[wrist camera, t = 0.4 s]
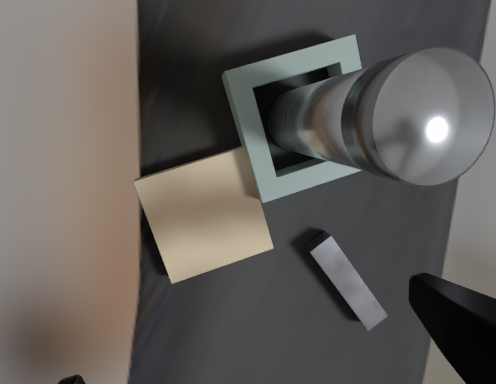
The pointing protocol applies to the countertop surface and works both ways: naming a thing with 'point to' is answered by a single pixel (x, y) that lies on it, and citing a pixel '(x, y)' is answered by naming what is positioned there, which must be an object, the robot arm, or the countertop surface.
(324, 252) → the bar
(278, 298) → the countertop surface
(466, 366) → the robot arm
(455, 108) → the grey round peg
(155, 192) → the beige square plate
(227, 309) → the countertop surface
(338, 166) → the socket
